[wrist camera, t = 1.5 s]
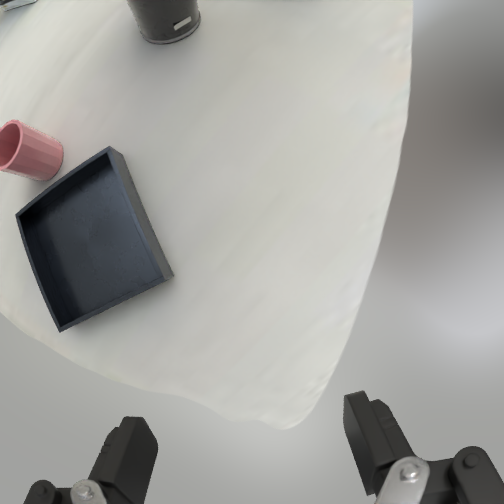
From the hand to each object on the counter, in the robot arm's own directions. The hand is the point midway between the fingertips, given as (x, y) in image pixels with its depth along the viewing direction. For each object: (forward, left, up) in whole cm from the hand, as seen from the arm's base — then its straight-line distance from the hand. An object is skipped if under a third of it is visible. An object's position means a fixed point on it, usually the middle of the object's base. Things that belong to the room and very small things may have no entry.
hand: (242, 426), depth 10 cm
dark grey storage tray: (-14, -15, -26) cm, 33 cm away
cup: (-29, -18, -26) cm, 43 cm away
